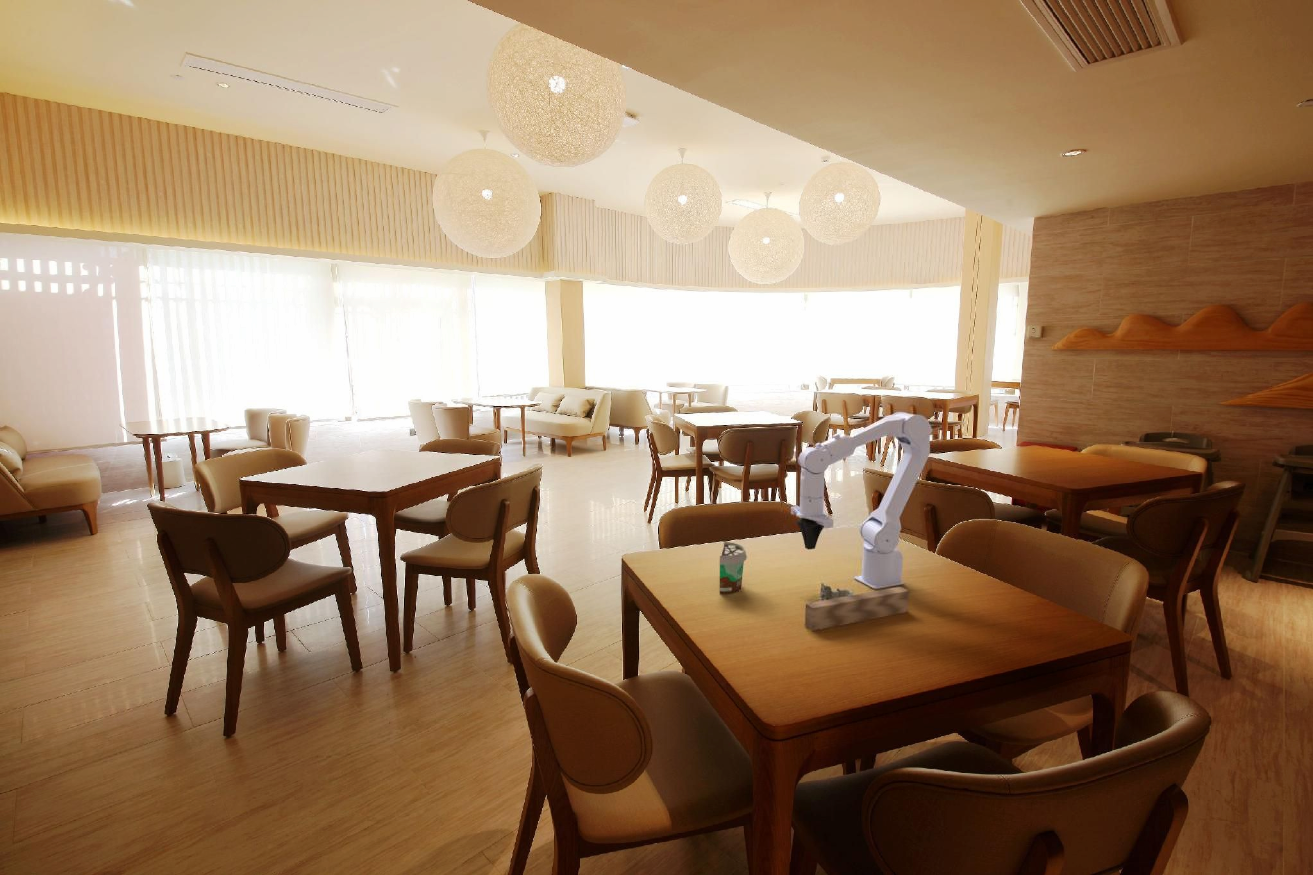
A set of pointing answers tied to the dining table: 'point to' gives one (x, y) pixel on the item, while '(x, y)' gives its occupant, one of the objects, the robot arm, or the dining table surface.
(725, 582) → the food container
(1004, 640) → the dining table surface
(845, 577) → the dining table surface
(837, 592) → the egg carton
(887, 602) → the walnut board
